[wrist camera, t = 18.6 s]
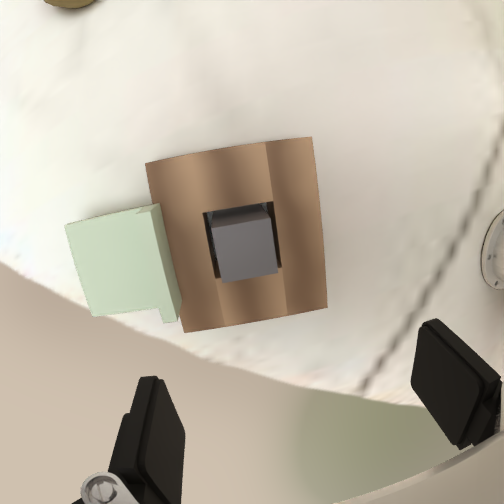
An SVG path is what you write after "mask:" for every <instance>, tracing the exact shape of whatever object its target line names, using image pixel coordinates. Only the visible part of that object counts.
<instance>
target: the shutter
mask: <svg viewBox="0 0 504 504" xmlns="http://www.w3.org/2000/svg"><path fill="white" fill-rule="evenodd" d="M64 227H65V231H66V235H67V238H68V242H69V246H70V249H71V253H72V256H73V260H74V263H75V266H76V270H77V273H78V276H79V279H80V282H81V285H82V288H83V291H84V294H85V297H86V300H87V303H88V306H89V308H90V311H91V314H92V316H93V317H96V316H104V315H112V314H119V313H127V312H134V311H141V310H148V309H155V308H159V310H160V314H161V317H162V320H163V323H169V322H176V321H178V317H179V312H180V308H181V303H182V298H181V294H180V290H179V286H178V282H177V278H176V274H175V270H174V266H173V262H172V258H171V253H170V249H169V244H168V240H167V236H166V231H165V226H164V222H163V217H162V212H161V207H160V203H157V204H152V205H147V206H143V207H138V208H133V209H129V210H124V211H120V212H115V213H111V214H106V215H102V216H98V217H93V218H89V219H85V220H81V221H77V222H73V223H69V224H67V225H65V226H64Z"/></svg>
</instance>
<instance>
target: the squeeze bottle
mask: <svg viewBox="0 0 504 504" xmlns="http://www.w3.org/2000/svg"><path fill="white" fill-rule="evenodd" d="M44 1H45V2H46V3H48V4H51V5H53V6H59V7H67V8H80V7H83V6H86V5H89V4H90V3H92V2H93V1H95V0H44Z"/></svg>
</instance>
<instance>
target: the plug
mask: <svg viewBox="0 0 504 504" xmlns="http://www.w3.org/2000/svg"><path fill="white" fill-rule="evenodd" d="M211 230H212V235H213V240H214V245H215V250H216V255H217V260H218V265H219V270H220V274H221V279H222V283H227V282H232V281H238V280H243V279H249V278H254V277H260V276H265V275H270V274H276V273H278V267H277V260H276V253H275V246H274V239H273V232H272V225H271V219H270V217H269V215H268V214H267V213H266V212H265V210H264V209H263V208H262V206H261V205H260V204H259V203H257V204H251V205H245V206H239V207H233V208H227V209H221V210H215V211H213V217H212V226H211Z"/></svg>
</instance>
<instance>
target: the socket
mask: <svg viewBox="0 0 504 504" xmlns="http://www.w3.org/2000/svg"><path fill="white" fill-rule="evenodd" d="M145 166H146V172H147V177H148V183H149V188H150V193H151V198H152V203H153V204H157V203H160V207H161V212H162V217H163V222H164V226H165V231H166V236H167V240H168V244H169V249H170V253H171V258H172V262H173V266H174V270H175V274H176V278H177V282H178V286H179V290H180V294H181V298H182V303H181V308H180V312H179V315H180V319H181V323H182V326H183V330H184V333H188V332H195V331H202V330H208V329H215V328H221V327H227V326H233V325H239V324H245V323H251V322H257V321H262V320H268V319H273V318H278V317H284V316H289V315H294V314H299V313H304V312H309V311H314V310H318V309H323V308H328V306H327V288H326V272H325V258H324V245H323V233H322V222H321V211H320V201H319V192H318V183H317V174H316V166H315V158H314V150H313V142H312V137H303V138H294V139H285V140H277V141H269V142H261V143H254V144H247V145H240V146H234V147H227V148H221V149H215V150H209V151H204V152H198V153H193V154H188V155H183V156H177V157H173V158H168V159H163V160H158V161H154V162H149V163H145ZM263 202H266V203H267V210H268V215H269V217H270V219H271V225H272V232H273V239H274V246H275V253H276V260H277V267H278V273H276V274H270V275H265V276H260V277H254V278H249V279H243V280H238V281H232V282H227V283H222V279H221V274H220V270H219V265H218V260H215V255H214V250H213V244H212V239H211V234H210V228H209V223H208V217H207V212H209V211H215V210H221V209H227V208H233V207H239V206H245V205H251V204H257V203H263Z"/></svg>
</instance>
